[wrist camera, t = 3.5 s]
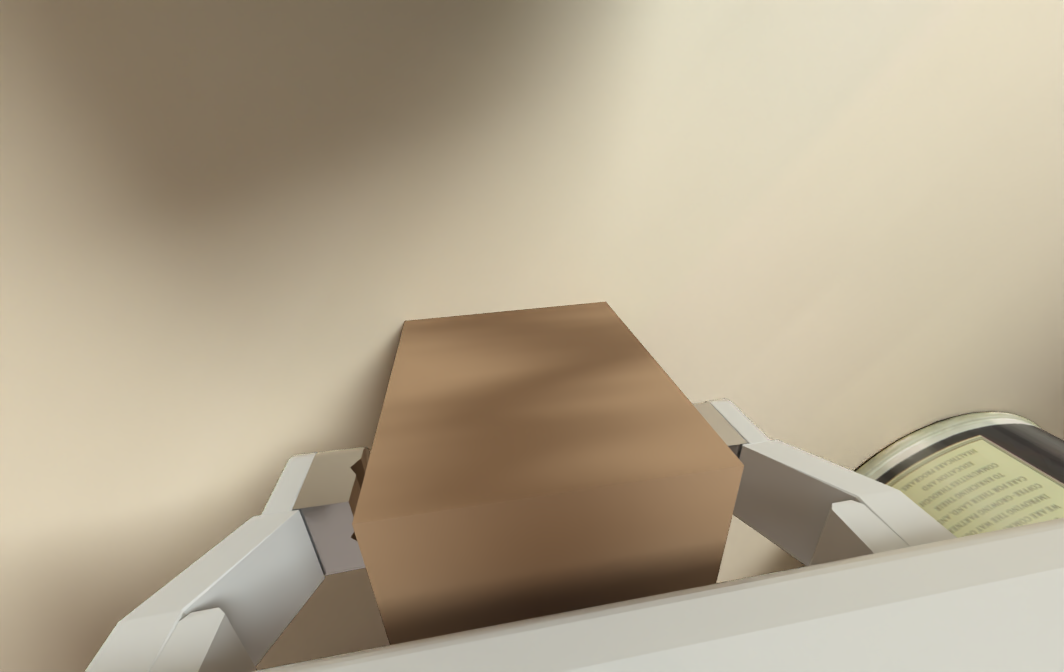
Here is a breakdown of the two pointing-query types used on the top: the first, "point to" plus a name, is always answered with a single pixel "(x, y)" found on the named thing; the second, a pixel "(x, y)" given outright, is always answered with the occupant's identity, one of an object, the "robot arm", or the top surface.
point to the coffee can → (977, 472)
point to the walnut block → (535, 474)
